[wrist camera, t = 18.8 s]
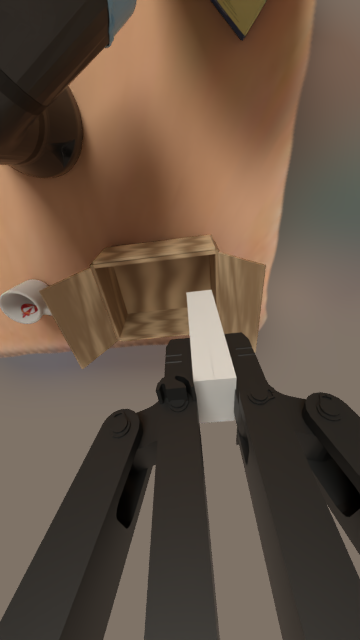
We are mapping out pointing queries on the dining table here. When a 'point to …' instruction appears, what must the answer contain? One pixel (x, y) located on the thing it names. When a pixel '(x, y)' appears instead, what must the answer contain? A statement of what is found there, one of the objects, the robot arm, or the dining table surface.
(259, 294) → the flap right
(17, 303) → the cup
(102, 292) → the carton
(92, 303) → the flap left
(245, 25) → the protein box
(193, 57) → the dining table surface
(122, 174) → the dining table surface
